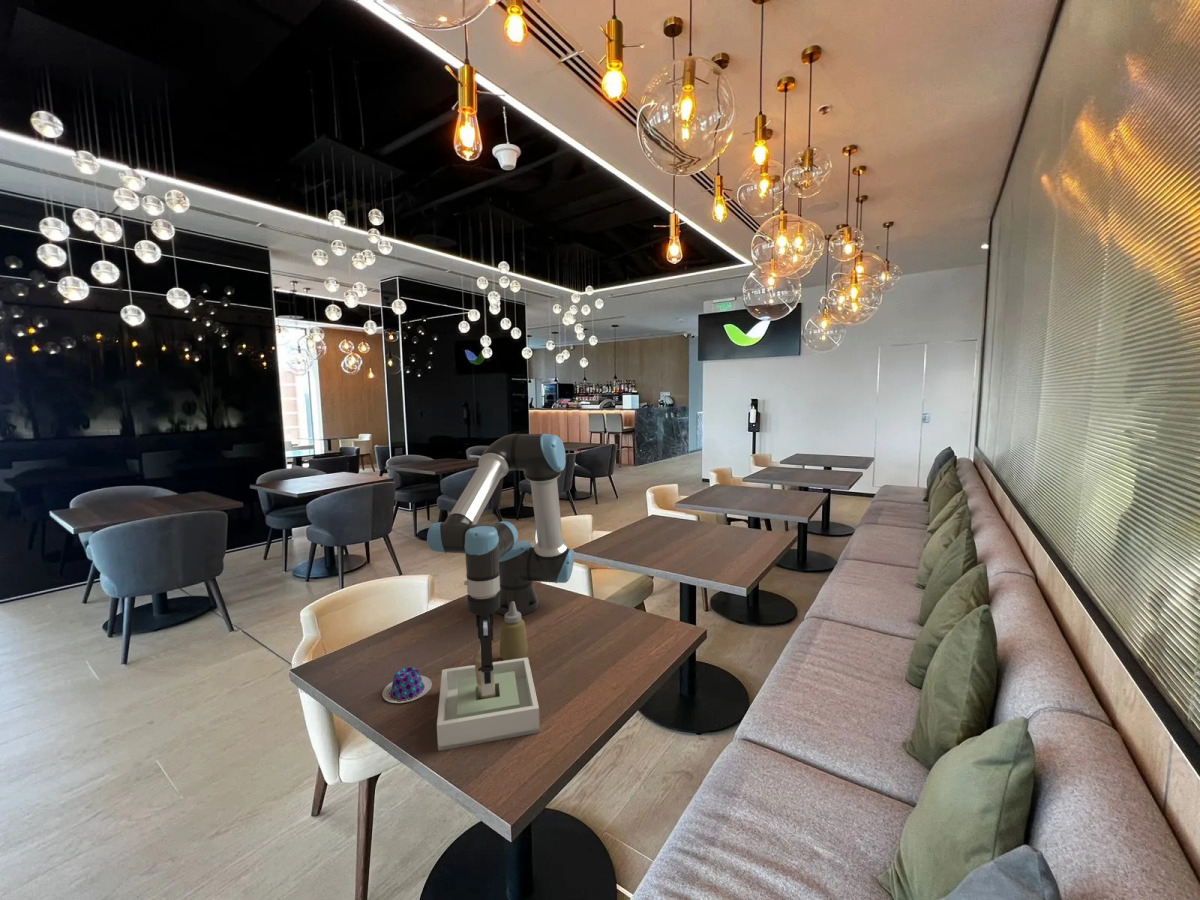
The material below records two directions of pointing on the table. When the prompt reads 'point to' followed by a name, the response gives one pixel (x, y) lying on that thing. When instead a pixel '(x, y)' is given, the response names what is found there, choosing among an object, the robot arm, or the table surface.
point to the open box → (489, 724)
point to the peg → (478, 675)
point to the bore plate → (503, 701)
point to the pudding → (407, 685)
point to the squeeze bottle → (513, 635)
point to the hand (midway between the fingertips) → (487, 680)
